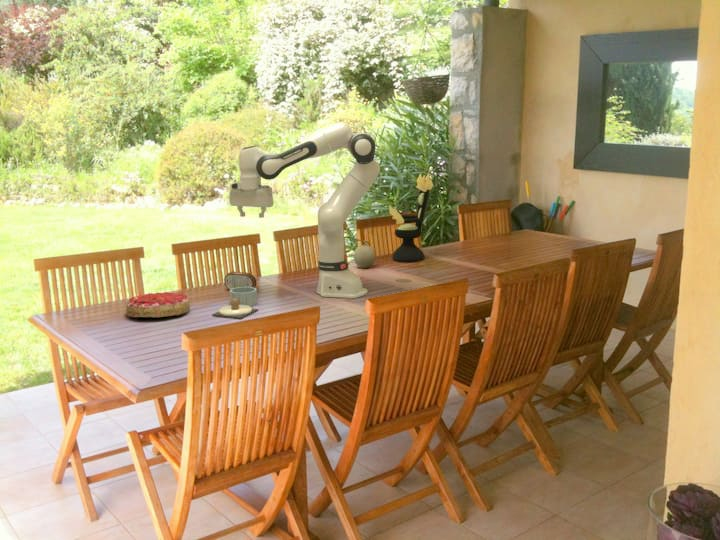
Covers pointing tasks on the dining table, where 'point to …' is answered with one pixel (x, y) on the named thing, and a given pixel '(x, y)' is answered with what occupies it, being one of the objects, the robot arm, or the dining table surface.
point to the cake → (157, 305)
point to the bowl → (244, 295)
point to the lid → (235, 309)
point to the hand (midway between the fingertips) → (252, 217)
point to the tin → (239, 280)
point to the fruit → (364, 255)
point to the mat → (233, 316)
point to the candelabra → (409, 231)
